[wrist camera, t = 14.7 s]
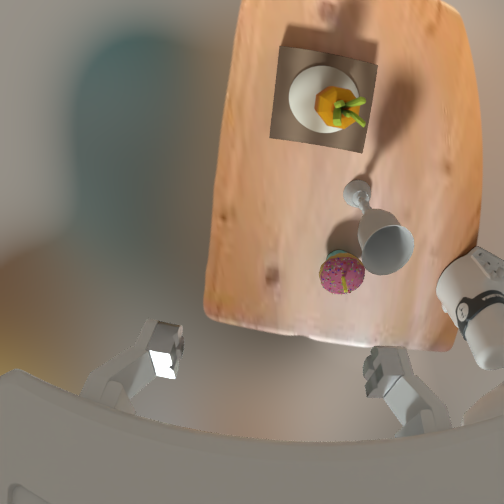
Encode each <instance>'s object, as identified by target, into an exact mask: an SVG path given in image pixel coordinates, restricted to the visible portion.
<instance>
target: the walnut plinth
mask: <svg viewBox="0 0 504 504" xmlns="http://www.w3.org/2000/svg"><path fill="white" fill-rule="evenodd" d="M377 67H378V65H375V64H371V63H368V62H364V61H360V60H356V59H352V58H348V57H343V56H339V55H334V54H329V53H324V52H318V51H312V50H306V49H300V48H292V47H285V46H280V48H279V57H278V66H277V75H276V84H275V93H274V102H273V111H272V119H271V128H270V137H269V138H273V139H281V140H289V141H296V142H302V143H309V144H315V145H321V146H327V147H332V148H338V149H343V150H348V151H353V152H358V153H363V148H364V143H365V138H366V133H367V128H368V123H369V117H370V112H371V106H372V100H373V94H374V88H375V81H376V74H377ZM329 86H335V87H340V88H345V89H349V90H351V91H352V93H353V94H354V96H355V97H356V98H358V97H364V98H365V99H366V103H365V104H363V105H360V110H359V116H360V117H361V118H362V119H363V120H364V121H365V122H366V125H365V127H362V126H361V125H360V124H359V123H357V122H354V123H353V124H351V125H350V126H348V127H347V128H345V129H341V128H336V127H331V126H327V125H326V124H325V123H324V121H323V120H322V119H321V117H320V116H319V115H318V113H317V112H316V111H315V109H314V106H315V99H316V94H318V93H319V92H321V91H322V90H324V89H325V88H327V87H329Z"/></svg>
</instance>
